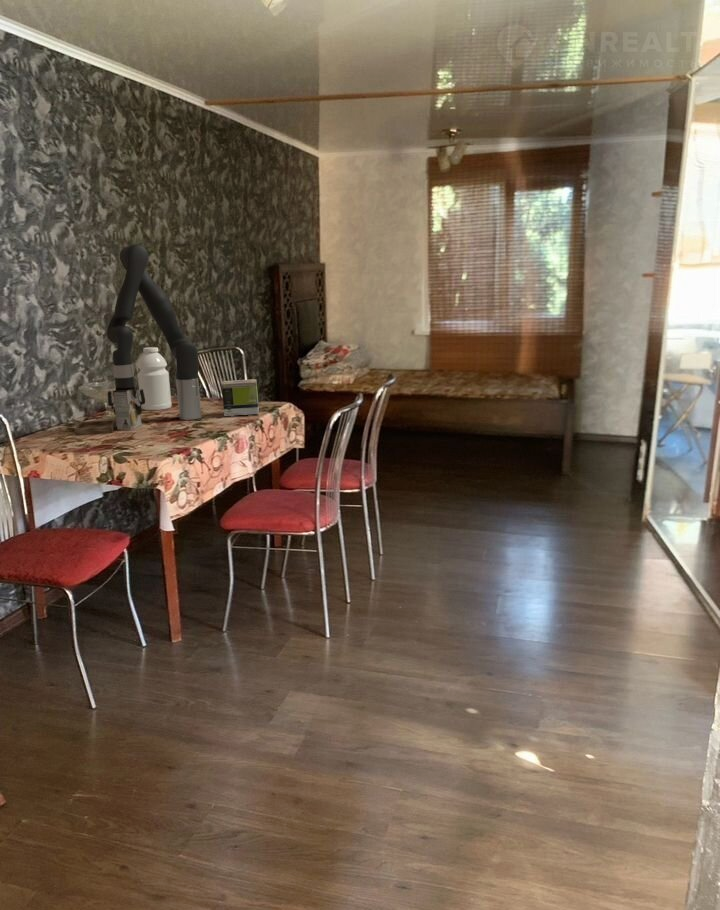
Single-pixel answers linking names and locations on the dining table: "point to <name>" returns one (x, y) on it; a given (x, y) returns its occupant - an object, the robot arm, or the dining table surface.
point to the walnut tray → (95, 427)
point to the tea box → (240, 397)
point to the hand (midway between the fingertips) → (128, 415)
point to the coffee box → (126, 409)
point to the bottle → (154, 380)
